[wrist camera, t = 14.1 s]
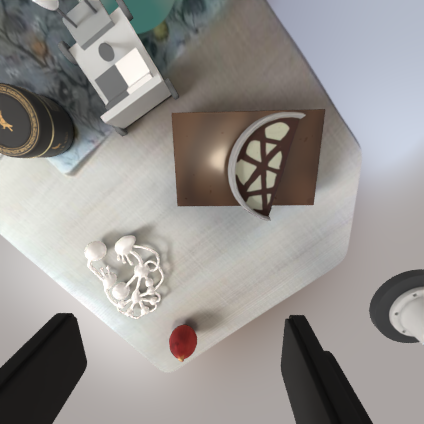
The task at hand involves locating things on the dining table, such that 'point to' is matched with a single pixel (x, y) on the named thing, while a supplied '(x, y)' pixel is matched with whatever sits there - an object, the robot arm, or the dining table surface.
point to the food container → (261, 161)
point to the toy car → (113, 61)
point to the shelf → (221, 150)
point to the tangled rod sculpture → (121, 290)
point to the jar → (32, 124)
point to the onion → (183, 342)
